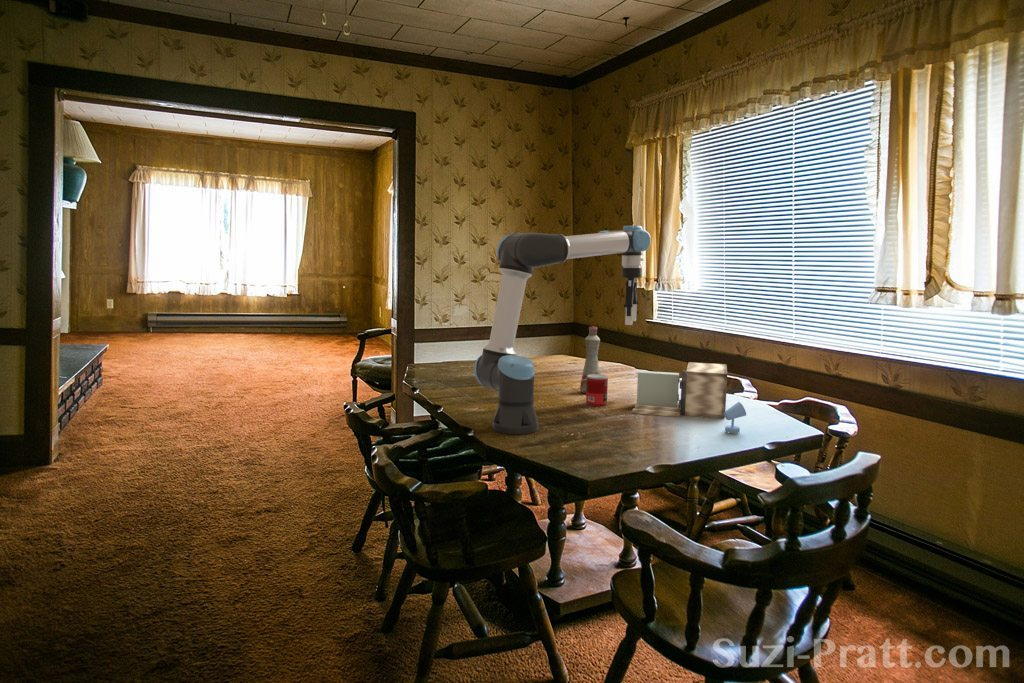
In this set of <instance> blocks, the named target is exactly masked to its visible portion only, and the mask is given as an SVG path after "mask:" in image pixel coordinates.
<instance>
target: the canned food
mask: <svg viewBox="0 0 1024 683" xmlns="http://www.w3.org/2000/svg"><path fill="white" fill-rule="evenodd" d="M608 382H609V381H608V375H605V374H590V375H587V387H586V394H585V396H586V397H585V399H586V400H585V403H586V405H588V406H591V405H592V406H591V407H604V406H606V405H607V403H608V386H609V385H608Z"/></svg>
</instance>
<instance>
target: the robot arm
mask: <svg viewBox="0 0 1024 683" xmlns="http://www.w3.org/2000/svg"><path fill="white" fill-rule="evenodd" d="M651 238H652V237H651V234H650V233H649V232H648V231H647V230H646V229H643V226H641V225H623V228H622V230H620V229H619V230H601V231H598V233H587V234H576V235H567V236H565V235H564V234H562V233H542V232H541V233H540V232H513V233H510V234H507V235H506V236H504V237H502V238H501V240H499V243H498V245H497V246H496V257H497V259H498V261H499V267H498V271H499V272H500V274H501V280H500V285H499V289H498V295H497V300H496V304H495V310H494V316H493V320H492V326H491V331H490V335H489V341H488V343H487V344H486V345H485V346H484V347H483V348H482V353H481V355H480V356H479V357H477V359H476V360H475V363H474V364H473V365H474V366H473V374H474V377H475V379H476V381H477V382H478V383H479V384H480V385H482V386H483V387H485V388H486V389H488V390H493V391H495V392H497V407H496V410H495V413H494V416H493V419H492V421H491V422H492V423H491V425H492V430H493V431H495V432H496V433H497V432H498V433H501V434H508V435H527V434H531V433H535V432H537V431H538V430H539V418H538V415H537V413H536V410H535V406H534V399H535V397H534V394H535V393H534V392H535V391H534V390H535V388H534V387H535V372H536V371H535V364H534V361H533V360H532V359H530V358H528V357H526V356H521V355H518V354H517V352H516V351H515V349H514V348H515V341H516V336H517V330H518V327H519V326H518V325H519V321H520V316H521V312H522V311H521V310H522V306H523V301H524V295H525V289H526V285H527V281H528V279H530V278H531V277H533V273H534V269H536V268H538V269H539V268H541V267H547V266H550V265H551V266H552V265H556V264H563V263H565V262H566V261H567V260H571V259H580V258H588V257H597V256H605V255H614V254H622V255H621V266H622V268H621V277H622V278H626V279H627V280H626V282H625V299H624V300H625V302H624V304H623V308H625V309H624V310H625V311H624V312H625V313H624V315H625V316H624V317H625V318H624V325H625V326H633V323H634V322H636V321H637V305H639V301H638V294H637V291H638V280H637V279H638V278H642V277H643V268H642V266H643V261H645V259H644V257H643V252H645V251H647V250H648V249H649V248H650V246H651V244H652V239H651Z"/></svg>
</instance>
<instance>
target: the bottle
mask: <svg viewBox="0 0 1024 683" xmlns="http://www.w3.org/2000/svg"><path fill="white" fill-rule="evenodd" d="M597 334H598V327H597V326H594V325H592V326H589V327H588V336H586V337H585V338H584V342H585V350H586V356H585V361H584V366H583V372H582V376H581V380H580V384H579V385H580V386H579V391H580V393H583V394H585V395H586V387H587V375H590V374H600V367H599V360H598V353H599V349H600V348H599V347H600V343H601V339H600V337H599V336H598V335H597Z"/></svg>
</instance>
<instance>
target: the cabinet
mask: <svg viewBox="0 0 1024 683" xmlns="http://www.w3.org/2000/svg"><path fill="white" fill-rule="evenodd" d="M727 385H728V366H727V364H726V363H710V362H693V361H690V362H689V361H688V364H687V367H686V370H682V371H681V380H680V382H679V389H680V399H679V401H678V407H677V408H671V407H658V406H645V405H637V404H635V405H634V408H632V414H640V415H650V416H652V415H653V416H662V417H663V416H664V417H665V416H666V417H677V418H679V417H681V416H689V417H699V416H703V417H702V418H712V417H719V418H718V419H724V418H725V416H724V412H725V411H726V408H727V405H726V404H727V390H728V389H727V387H728V386H727ZM725 419H726V418H725Z"/></svg>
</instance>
